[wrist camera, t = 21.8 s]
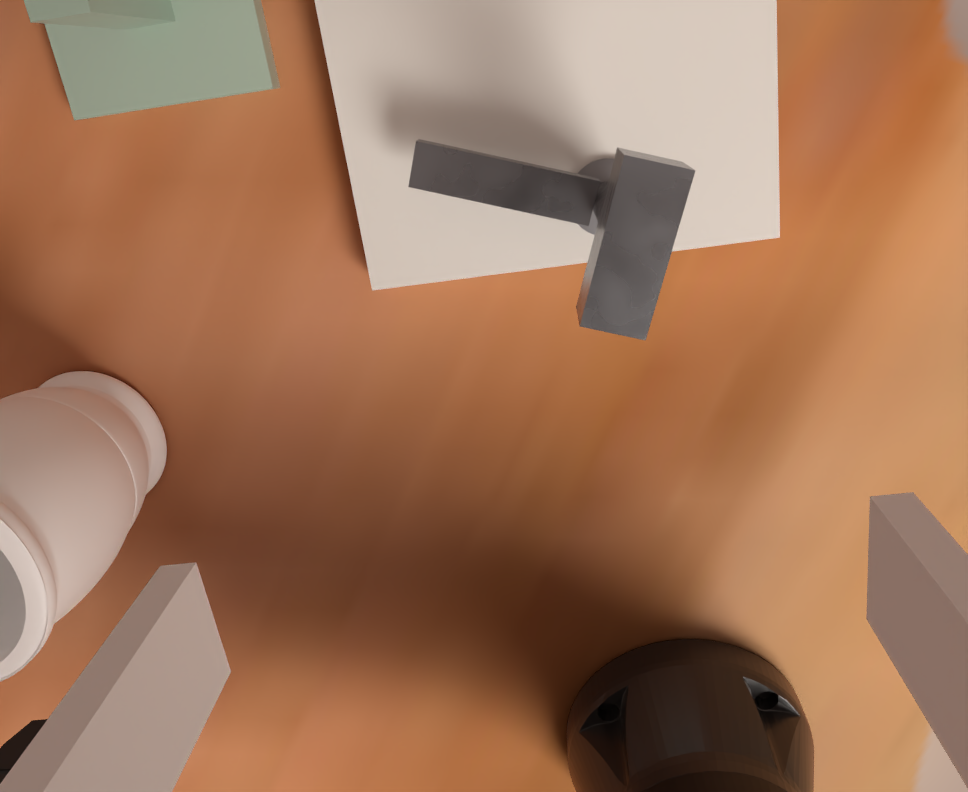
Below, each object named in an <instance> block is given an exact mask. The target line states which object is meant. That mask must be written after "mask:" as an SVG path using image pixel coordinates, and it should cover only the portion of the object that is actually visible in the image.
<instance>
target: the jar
mask: <svg viewBox="0 0 968 792" xmlns="http://www.w3.org/2000/svg"><path fill="white" fill-rule="evenodd" d="M166 457H167V445H166V438H165V434H164V430H163V427H162V425H161V423H160V420H159V418H158V417H157V415H156V413H155V412H154V410H153V409H152V407H151V406H150V405H149V403H148V402H147V401H146V400H145V399H144V398H143V397H142V396H141V395H140V394H139V393H138V392H137V391H135V390H134V389H133V388H131V387H130V386H128V385H127V384H125V383H123V382H122V381H120V380H118V379H115V378H113V377H111V376H108V375H105V374H101V373H97V372H89V371H74V372H68V373H64V374H60V375H57V376H55V377H53V378H51V379H49V380H47V381H46V382H44V383H43V384H42V385H41V386H39V387H38V388H36V389H31V390H26V391H22V392H19V393H16V394H12V395H10V396H7V397H4V398H2V399H0V681H3V680H5V679H7V678H9V677H11V676H12V675H14V674H16V673H17V672H18V671H20V670H21V669H22V668H24V667H25V666H26V665H27V664H28V663H29V662H30V661H31V660H32V659H33V658H34V657H35V656H36V655H37V653H38V652H39V651H40V650H41V648H42V647H43V646H44V644H45V642H46V641H47V639H48V637H49V635H50V633H51V630H52V628H53V625H54V624H55V623H56V622H57V621H59V620H60V619H61V618H62V617H64V616H65V615H66V614H67V613H68V612H69V611H70V610H72V609H73V608H74V607H75V606H76V605H77V604H78V603H79V602H80V601H81V600H82V599H83V598H84V597H85V596H86V595H87V594H88V593H89V592H90V591H91V590H92V589H93V587H94V586H95V585H96V584H97V583H98V582H99V580H100V579H101V578H102V577H103V575H104V574H105V573H106V571H107V570H108V568H109V567H110V565H111V564H112V562H113V561H114V559H115V558H116V556H117V554H118V552H119V551H120V549H121V547H122V545H123V543H124V541H125V538H126V536H127V534H128V532H129V530H130V529H131V527H132V525H133V523H134V522H135V520H136V518H137V516H138V514H139V512H140V509H141V507H142V504H143V502H144V499H145V495H146V494H147V493H148V492H149V491H150V490H151V489H152V488H153V487H154V486H155V485H156V483H157V482H158V480H159V479H160V477H161V475H162V473H163V470H164V467H165V463H166Z"/></svg>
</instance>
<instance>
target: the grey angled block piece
mask: <svg viewBox="0 0 968 792" xmlns="http://www.w3.org/2000/svg"><path fill="white" fill-rule="evenodd" d="M695 171H696V170H694V169H693V168H691V167H690V166H688V165H687V164H685V163H684V162H682V161H677V160H673V159H668V158H663V157H659V156H654V155H650V154H645V153H641V152H636V151H632V150H627V149H623V148H618V147H617V150H616V154H615V158H614V162H613V165H612V169H611V173H610V177H609V181H605V182H601V183H600V180H599V178H595V177H591V176H586V175H581V174H577V173H572V172H568V171H563V170H559V169H554V168H549V167H545V166H540V165H536V164H531V163H527V162H522V161H517V160H513V159H508V158H504V157H499V156H495V155H490V154H485V153H481V152H476V151H472V150H467V149H463V148H458V147H453V146H449V145H444V144H440V143H435V142H431V141H426V140H421V139H418V140H417V141H416V144H415V150H414V156H413V162H412V168H411V174H410V180H409V186H408V187H411V188H415V189H420V190H424V191H429V192H434V193H438V194H443V195H447V196H452V197H457V198H461V199H466V200H470V201H475V202H480V203H484V204H489V205H493V206H498V207H503V208H507V209H512V210H517V211H521V212H526V213H530V214H535V215H540V216H544V217H549V218H553V219H558V220H563V221H567V222H572V223H576V224H581V225H586V226H589V223H590V219H591V215H592V211H594V214H595V216H596V219H597V221H598V224H597V228H596V232H595V236H594V239H593V243H592V247H591V251H590V255H589V259H588V263H587V267H586V271H585V274H584V278H583V282H582V286H581V290H580V294H579V298H578V302H577V306H576V309H577V314H578V320H579V325H580V326H581V327H586V328H590V329H595V330H600V331H604V332H609V333H614V334H618V335H623V336H628V337H632V338H637V339H642V340H646V337H647V333H648V330H649V327H650V323H651V320H652V316H653V313H654V310H655V306H656V303H657V300H658V296H659V293H660V289H661V286H662V283H663V279H664V276H665V272H666V269H667V266H668V262H669V259H670V255H671V252H672V249H673V245H674V242H675V238H676V235H677V232H678V228H679V225H680V222H681V218H682V215H683V211H684V208H685V205H686V201H687V198H688V194H689V191H690V188H691V184H692V181H693V177H694V174H695Z"/></svg>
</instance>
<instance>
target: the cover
mask: <svg viewBox="0 0 968 792" xmlns="http://www.w3.org/2000/svg"><path fill="white" fill-rule="evenodd" d="M24 3H25V6H26V9H27V12H28V15H29V18H30V22H31V23H44V24H45V27H46V31H47V34H48V37H49V40H50V43H51V47H52V50H53V53H54V56H55V60H56V63H57V66H58V69H59V72H60V76H61V79H62V82H63V85H64V88H65V92H66V95H67V98H68V101H69V105H70V108H71V111H72V114H73V117H74V120H80V119H88V118H94V117H100V116H107V115H113V114H119V113H125V112H132V111H138V110H144V109H151V108H157V107H163V106H169V105H176V104H182V103H188V102H195V101H201V100H207V99H214V98H220V97H226V96H232V95H239V94H245V93H251V92H258V91H264V90H270V89H277V88H280V84H279V80H278V75H277V71H276V66H275V62H274V57H273V52H272V48H271V43H270V39H269V34H268V30H267V25H266V21H265V16H264V12H263V7H262V3H261V0H24Z"/></svg>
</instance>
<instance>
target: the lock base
mask: <svg viewBox="0 0 968 792" xmlns="http://www.w3.org/2000/svg"><path fill="white" fill-rule="evenodd" d="M315 5H316V10H317V16H318V21H319V26H320V31H321V36H322V41H323V46H324V51H325V56H326V61H327V66H328V71H329V76H330V81H331V86H332V91H333V96H334V101H335V106H336V111H337V116H338V121H339V126H340V131H341V136H342V141H343V146H344V151H345V156H346V161H347V166H348V171H349V176H350V181H351V186H352V191H353V196H354V201H355V206H356V211H357V216H358V221H359V226H360V231H361V236H362V241H363V246H364V252H365V257H366V262H367V267H368V272H369V277H370V282H371V287H372V290H379V289H387V288H395V287H402V286H410V285H418V284H425V283H433V282H441V281H448V280H456V279H464V278H471V277H479V276H487V275H495V274H502V273H510V272H518V271H525V270H533V269H541V268H548V267H556V266H564V265H572V264H579V263H587V262H588V259H589V255H590V251H591V247H592V243H593V239H594V236H595V232H596V228H597V224H598V221H597V219H596V216H595V214H594V211H592V215H591V219H590V223H589V226H586V225H581V224H576V223H572V222H567V221H563V220H558V219H553V218H549V217H544V216H540V215H535V214H530V213H526V212H521V211H517V210H512V209H507V208H503V207H498V206H493V205H489V204H484V203H480V202H475V201H470V200H466V199H461V198H457V197H452V196H447V195H443V194H438V193H434V192H429V191H424V190H420V189H415V188H411V187H408V186H409V180H410V174H411V168H412V162H413V156H414V150H415V144H416V141H417V140H418V139H421V140H426V141H431V142H435V143H440V144H444V145H449V146H453V147H458V148H463V149H467V150H472V151H476V152H481V153H485V154H490V155H495V156H499V157H504V158H508V159H513V160H517V161H522V162H527V163H531V164H536V165H540V166H545V167H549V168H554V169H559V170H563V171H568V172H572V173H577V174H581V175H586V176H591V177H595V178H599V180H600V183H601V182H605V181H609V177H610V173H611V169H612V165H613V162H614V158H615V154H616V150H617V147H618V148H623V149H627V150H632V151H636V152H641V153H645V154H650V155H654V156H659V157H663V158H668V159H673V160H677V161H682V162H684V163H685V164H687V165H688V166H690V167H691V168H693V169H694V170H696V171H695V174H694V177H693V181H692V184H691V188H690V191H689V194H688V198H687V201H686V205H685V208H684V211H683V215H682V218H681V222H680V225H679V228H678V232H677V235H676V238H675V242H674V245H673V249H672V251H679V250H687V249H695V248H702V247H710V246H718V245H726V244H733V243H741V242H749V241H756V240H764V239H772V238H779V237H780V210H779V141H778V72H777V3H776V0H315Z"/></svg>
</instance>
